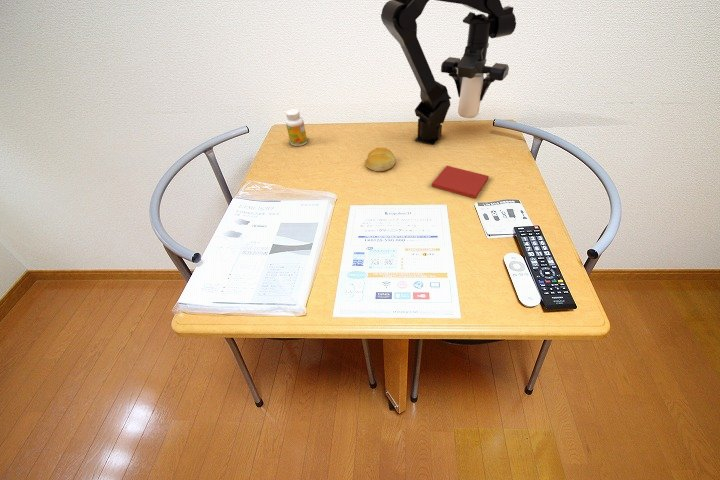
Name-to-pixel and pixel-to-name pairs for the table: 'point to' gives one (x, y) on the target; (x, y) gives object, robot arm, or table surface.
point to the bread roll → (380, 159)
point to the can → (470, 96)
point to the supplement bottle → (295, 128)
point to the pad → (460, 181)
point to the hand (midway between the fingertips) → (470, 98)
